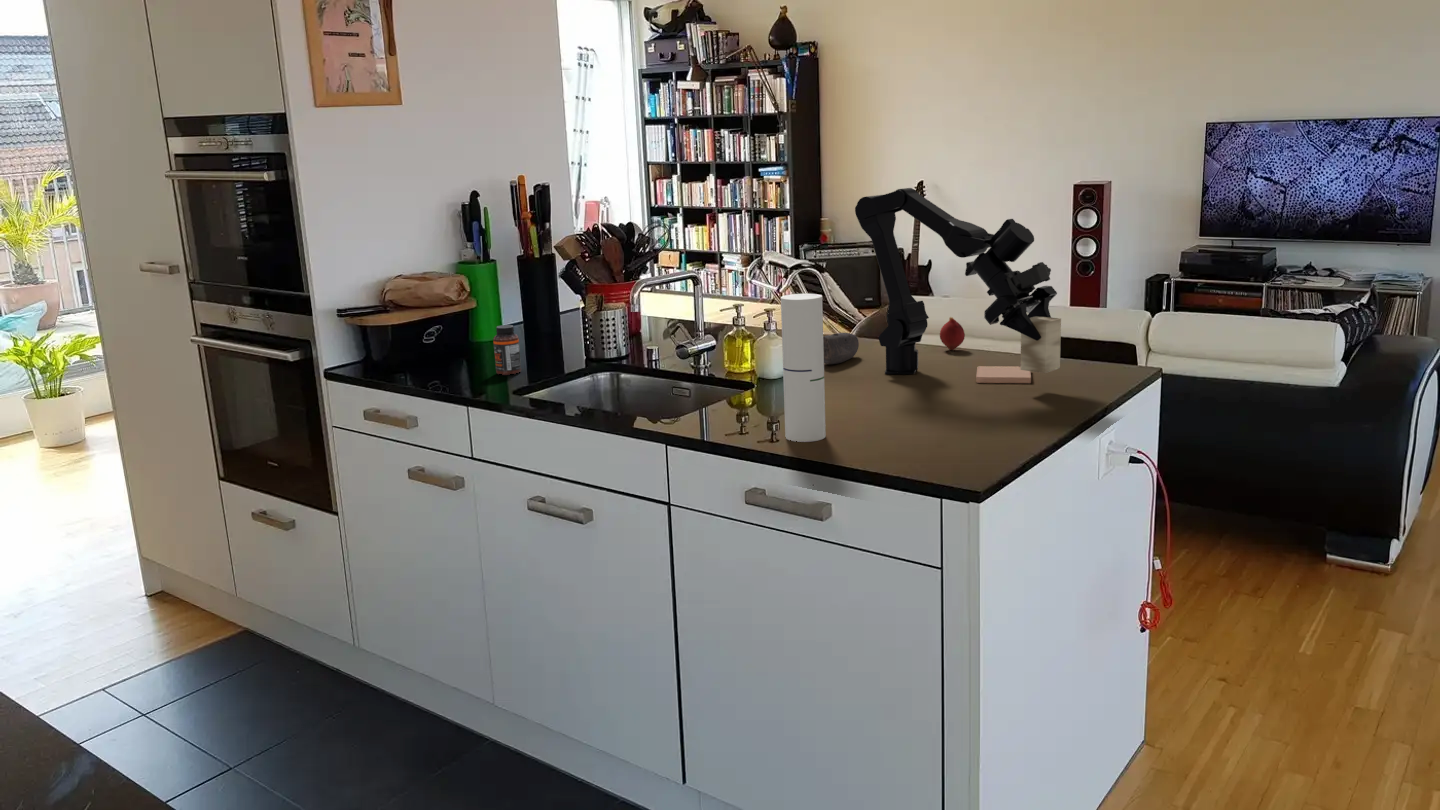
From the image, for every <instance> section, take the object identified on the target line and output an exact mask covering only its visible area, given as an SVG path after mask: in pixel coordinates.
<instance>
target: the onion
mask: <svg viewBox="0 0 1440 810" xmlns="http://www.w3.org/2000/svg"><path fill="white" fill-rule="evenodd" d="M965 336H966V334H965V330H964V328H963V326H962V325H961V323H959V322H958V321H957V320H956V319H955V318H954V317H952V316H950V317H949V319H948V321H947V322H946V323H945V324H944V325H943V326H942V327H941V328H940V330H939V339H940V341H941V343H942V344H943V345H944V346H945V347H946V348H948V350H949V351H954V350H955V349H956V348H958V347H959V346H961V345H962V344H963V342H964V340H965Z"/></svg>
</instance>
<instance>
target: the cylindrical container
mask: <svg viewBox="0 0 1440 810" xmlns="http://www.w3.org/2000/svg"><path fill="white" fill-rule="evenodd" d="M780 311H781V312H780V313H781V314H780V315H781V317H780V318H781V342H782V343H781V344H782V345H781V347H782V370H783V371H782V373H783V374H782V375H783V377H782V378H783V400H784V401H783V404H784V405H783V406H784V407H783V408H784V435H785V437H786V438H785V437H784V438H785V439H786V440H788V441H790V440H791V442H796V441H797V443H798V442H799V443H800V442H801V443H810V442H817V441H821V440H823V439H825V438H826V394H825V392H826V391H825V390H826V389H825V363H824V349H823V336H824V317H823V316H824V315H823V313H824V311H823V295H822V294H817V293H793V294H792V293H791V294H785V295H782V296H781V297H780Z"/></svg>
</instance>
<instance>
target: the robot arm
mask: <svg viewBox="0 0 1440 810" xmlns="http://www.w3.org/2000/svg"><path fill="white" fill-rule="evenodd" d="M901 211H904V212H905V213H907V214H908V215H909V216H910V217H912V218H914V219H915V220H917V221H918V222H920V223H921V224H923V225H924V226H925V227H927V228H929V230H931V231H932V232H934V233H936V234H937V235H938V236H939V237H940V238H942V240H943V242H944V244H945V246H946V247H947V248H948V249H949V250H950V251H951V252H952V253H953V254H954V255H955V256H956V257H957V258H958V257H959V258H961V259H962V258H964V259H965V258H969V257H976V256H977V257H976V258H975V259H973V260H972V261H967V262H966V264H965V265H966V268H965V270H964V271H965V273H964V275H965V277H968V276H975V275H978V277H979V278H980V279H981V280H982V282H983V283H984V284H985V286H987V288H988V290H987V291H986V293H987V295H988V296H995V298H996V299H995V300H993V302H992V303H991V304H990V305H989V306H988V307H987V308H986V309H985V310H984V318H983V319H985V321H986V322H987V323H988V324H989V325H995V324H998V323H999V325H1000V326H1004V327H1006V328H1009V329H1011V330H1013V331H1015V332H1018V333H1020V334H1021V333H1022V334H1024V335H1026V336H1028V337H1030V338H1032V339H1034V340H1036V341H1038V340H1039V339H1040V338H1041V336H1040V334H1039V332H1038V330H1037V329H1036V327H1035V326H1034V324H1033V323H1032V321H1031V320H1030V318H1031V317H1035V316H1039V317H1050V318H1052V316H1051V314H1050V309H1049V305H1050V302H1051V301H1053V300H1052V299H1054V298H1055V297H1056V295H1057V294H1058V292H1057V290H1055V288H1054V287H1053V286H1052V285H1043V286H1039V287H1037V288H1036V287H1035V286H1037V285H1039V284H1041V283H1043V282H1048V281H1050V280H1051V278H1050V275H1051V272H1052V269H1051V268H1050V267H1048V265H1047V264H1045V263H1044V261H1041V262H1037V264H1033V265H1032V267H1030V268H1028V269H1026V270H1024V271H1020V270H1014V271H1013V270H1012V268H1011V267H1010V266H1009V265H1008V264H1007V262H1011V263H1015V262H1016V261H1017V260H1018V259H1019V258H1020V257H1021V255H1023V254H1024V253H1025V251H1026V250H1027V249H1028V248H1029V247H1030V246H1031V245H1032V244H1033V243H1034V242H1035V237H1034V236H1035V235H1034V234H1033V232H1032V231H1031V230H1030V229H1029V228H1027V227H1025V226H1024V225H1023V224H1021V223H1018V222H1016V220H1015V219H1014V218H1008V219H1006V220H1005V221H1004V222H1003V223H1002V225H1001V226H1000V228H999V229H997V231H996V232H995V233H988V231H987V230H986V229H985V228H984V227H981V226H978V225H977V224H974V223H972V222H968V221H964V220H961V219H958V218H955V217H954V216H952V215H951V214H949V213H948V212H946V211H945V210H944V209H942V208H941V207H939V206H938V205H937V204H935V203H933V202H931V200H928V199H927V198H926V197H924V196H923V195H921V194H920V193H918V191H917V190H916V189H914V188H912V187H904V188H897V189H896V190H894V191H892V192H888V193H885V194H877V195H876V194H875V195H868V196H862V197H861V198H859V200H858V201H857V203H856V205H855V206H854V213H855V216H856V219H857V221H858V223H859V225H860V227H861V229H862V230H863V231H864V233H866V235H867V236H868V237H869V238H870V240H871V242H872V245H873V250H874V252H875V256H876V259H877V264H878V266H879V270H880V274H881V277H882V281H883V285H884V287H885V291H886V295H887V299H888V307H887V311H886V312H887V313H886V321H887V327H886V328H885V329H883V331H882V332H881V333H880V334H879V335H878V341H879V345H880V346H881V347H885V370H884V374H885V375H914V374H916V371H917V370H918V369H919V350H918V349H916V343H920V342H921V341H922V337H923V335H924V333H925V332H926V330H927V328H928V319H929V318H930V317H929V315H928V313H927V312H926V306H925V303H924V301H923V300H919V301H918V300H916V299H915V298H914V297H913V296H912V293H911V290H910V287H909V283H908V282H909V281H908V280H907V275H906V273H905V270H904V269H905V268H904V265H903V262H902V259H901V256H900V250H899V248H898V244H897V240H896V237H895V233H894V231H895V226H896V225H895V224H896V220H897V218H896V217H897V216H896V213H899V212H901ZM1000 316H1001V317H1002V320H1001V321H1000Z"/></svg>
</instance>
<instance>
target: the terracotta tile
mask: <svg viewBox="0 0 1440 810" xmlns="http://www.w3.org/2000/svg"><path fill="white" fill-rule="evenodd" d="M975 383H977V384H1031V383H1032V375H1031V371H1025V370H1020V366H1018V365H1017V366H1011V365H1009V366H1007V365H1006V366H1004V365H1003V366H1001V365H997V366H995V365H993V366H987V365H986V366H985V365H984V366H981V365H979V366H977V369H976V378H975Z"/></svg>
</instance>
